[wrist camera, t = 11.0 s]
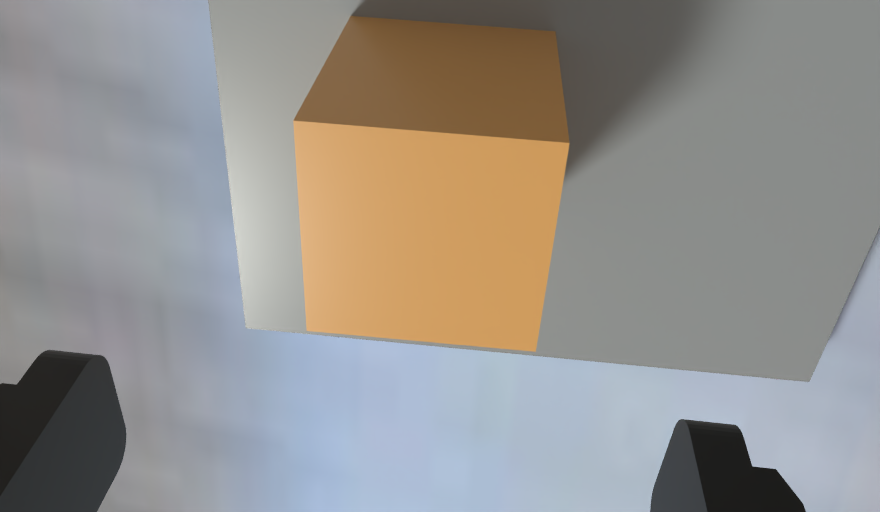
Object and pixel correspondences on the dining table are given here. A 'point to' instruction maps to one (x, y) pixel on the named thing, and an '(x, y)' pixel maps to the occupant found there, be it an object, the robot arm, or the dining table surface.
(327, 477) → the dining table surface
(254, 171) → the board
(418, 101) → the tan wooden cube
